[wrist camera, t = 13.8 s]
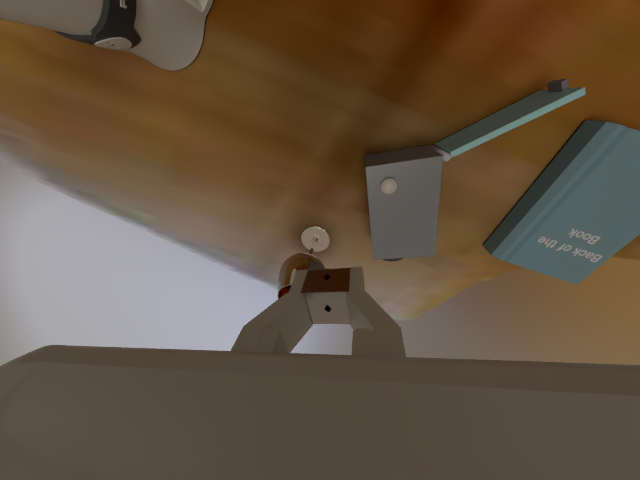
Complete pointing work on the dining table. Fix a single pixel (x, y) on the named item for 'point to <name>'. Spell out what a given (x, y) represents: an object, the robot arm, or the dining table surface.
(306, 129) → the dining table surface
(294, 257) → the wineglass
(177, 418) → the robot arm
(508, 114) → the side door
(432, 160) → the housing
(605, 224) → the book
